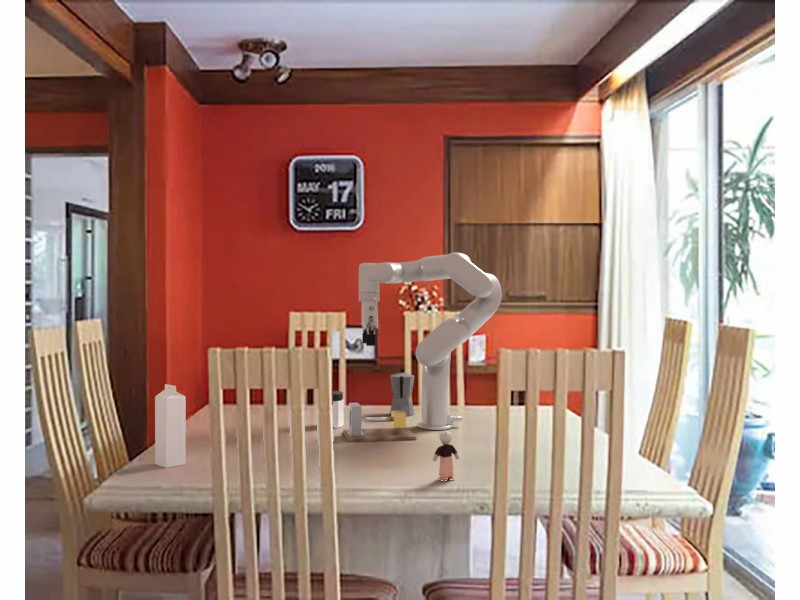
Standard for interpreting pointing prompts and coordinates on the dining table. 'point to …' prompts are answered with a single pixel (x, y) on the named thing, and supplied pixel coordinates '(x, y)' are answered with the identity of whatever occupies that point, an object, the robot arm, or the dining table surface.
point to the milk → (170, 428)
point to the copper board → (382, 435)
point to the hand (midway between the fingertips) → (368, 344)
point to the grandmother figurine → (445, 456)
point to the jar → (338, 409)
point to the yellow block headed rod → (391, 419)
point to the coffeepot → (402, 392)
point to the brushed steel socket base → (354, 421)
